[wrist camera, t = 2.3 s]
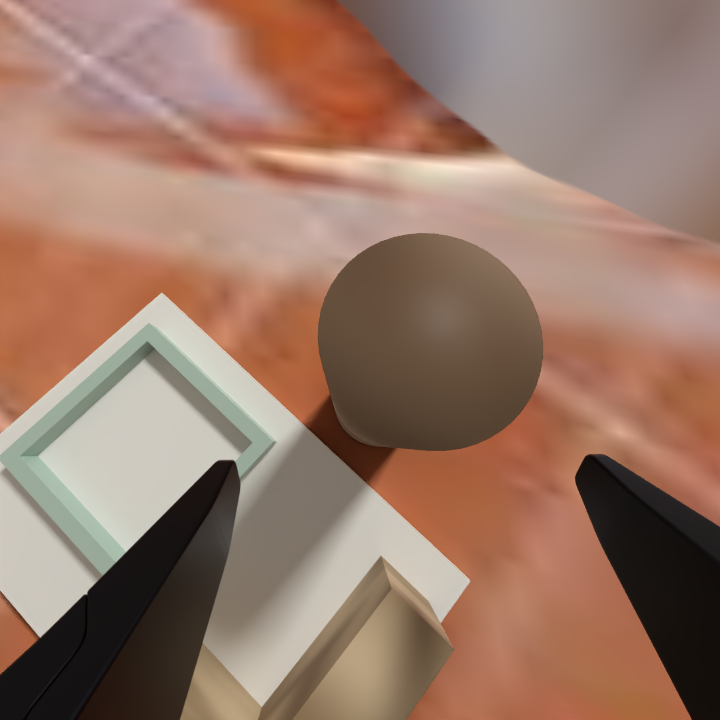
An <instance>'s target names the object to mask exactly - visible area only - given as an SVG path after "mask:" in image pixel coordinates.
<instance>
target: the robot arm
mask: <svg viewBox="0 0 720 720" xmlns="http://www.w3.org/2000/svg"><path fill="white" fill-rule="evenodd" d="M575 482H576V486H577V488H578V491H579V493H580V495H581V498H582V500H583V503H584V505H585V508H586V510H587V513H588V515H589V518H590V520H591V523H592V525H593V527H594V530H595V532H596V535H597V537H598V539H599V541H600V544H601V546H602V548H603V550H604V552H605V554H606V556H607V557H608V559H609V561H610V563H611V565H612V567H613V569H614V571H615V573H616V575H617V577H618V579H619V581H620V582H621V584H622V586H623V588H624V590H625V592H626V594H627V596H628V598H629V600H630V602H631V604H632V606H633V607H634V609H635V611H636V613H637V615H638V617H639V619H640V621H641V623H642V625H643V627H644V629H645V630H646V632H647V634H648V636H649V638H650V640H651V642H652V644H653V646H654V648H655V650H656V652H657V654H658V655H659V657H660V659H661V661H662V663H663V665H664V667H665V669H666V671H667V673H668V675H669V677H670V679H671V680H672V682H673V684H674V686H675V688H676V690H677V692H678V694H679V696H680V698H681V700H682V702H683V704H684V705H685V707H686V709H687V711H688V713H689V715H690V717H691V719H692V720H720V527H719V526H718V525H716V524H715V523H713V522H711V521H710V520H708V519H707V518H705V517H703V516H702V515H700V514H699V513H697V512H695V511H694V510H692V509H691V508H689V507H688V506H686V505H684V504H683V503H681V502H680V501H678V500H676V499H675V498H673V497H672V496H670V495H668V494H667V493H665V492H664V491H662V490H661V489H659V488H657V487H656V486H654V485H653V484H651V483H649V482H648V481H646V480H645V479H643V478H641V477H640V476H638V475H637V474H635V473H634V472H632V471H630V470H629V469H627V468H626V467H624V466H622V465H621V464H619V463H618V462H616V461H614V460H613V459H611V458H610V457H608V456H606V455H603V454H589V455H587V456H585V458H584V460H583V461H582V463H581V465H580V467H579V469H578V471H577V473H576V476H575ZM240 488H241V483H240V478H239V474H238V469H237V465H236V462H235V461H234V460H218V461H216V462H215V463H214V464H213V465H212V466H211V467H210V468H209V469H208V470H207V471H206V472H205V473H204V474H203V475H202V476H201V477H200V478H199V479H198V480H197V481H196V482H195V483H194V484H193V485H192V486H191V487H190V488H189V489H188V490H187V491H186V492H185V493H184V494H183V495H182V496H181V497H180V498H179V499H178V500H177V501H176V502H175V503H174V504H173V505H172V506H171V507H170V508H169V509H168V510H167V511H166V512H165V513H164V514H163V515H162V516H161V517H160V518H159V519H158V520H157V521H156V522H155V523H154V524H153V525H152V526H151V527H150V528H149V529H148V530H147V531H146V532H145V533H144V534H143V535H142V536H141V537H140V538H139V539H138V540H137V542H136V543H135V544H134V545H133V546H132V547H131V548H130V549H129V550H128V551H127V552H126V553H125V554H124V555H123V556H122V557H121V558H120V559H119V560H118V561H117V562H116V563H115V564H114V565H113V566H112V567H111V568H110V569H109V570H108V571H107V572H106V573H105V574H104V575H103V576H102V577H101V578H100V579H99V580H98V581H97V582H96V583H95V584H94V585H93V586H92V587H91V588H90V589H89V590H88V592H87V594H84V595H83V596H82V597H81V598H80V599H79V600H78V601H77V602H76V603H75V604H74V605H73V606H72V607H71V608H70V609H69V610H68V611H67V612H66V613H65V614H64V615H63V616H62V617H61V618H60V619H59V620H58V621H57V622H56V623H55V624H54V625H53V626H52V627H51V628H50V629H48V630H47V631H46V632H45V633H44V634H43V635H42V636H41V637H40V638H39V639H38V640H37V641H36V642H35V643H34V644H33V645H32V646H31V647H30V648H29V649H28V650H26V651H25V652H24V653H23V654H22V655H21V656H20V657H19V658H18V659H17V660H16V661H14V662H13V663H12V664H11V665H10V666H9V667H8V668H7V669H6V670H5V671H4V672H2V673H1V674H0V720H180V718H181V715H182V712H183V708H184V705H185V701H186V698H187V695H188V691H189V688H190V684H191V681H192V678H193V674H194V671H195V667H196V664H197V660H198V657H199V654H200V650H201V647H202V643H203V640H204V637H205V633H206V630H207V626H208V623H209V620H210V616H211V613H212V609H213V606H214V603H215V599H216V596H217V592H218V589H219V585H220V582H221V579H222V575H223V572H224V568H225V565H226V561H227V558H228V554H229V550H230V544H231V539H232V534H233V528H234V523H235V517H236V511H237V506H238V500H239V495H240Z"/></svg>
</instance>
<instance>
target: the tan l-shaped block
mask: <svg viewBox="0 0 720 720" xmlns="http://www.w3.org/2000/svg"><path fill="white" fill-rule="evenodd" d="M453 651H454V648H453V646H452V644H451V642H450V640H449V639H448V637H447V635H446V633H445V631H444V629H443V627H442V625H441V623H440V622H439V620H438V618H437V616H436V614H435V612H434V610H433V608H432V607H431V605H430V603H429V601H428V600H427V599H426V598H425V597H424V596H423V595H422V594H421V593H420V592H419V591H418V590H416V589H415V588H414V587H413V586H412V585H411V584H410V583H409V582H408V581H407V580H406V579H405V578H404V577H403V576H402V575H401V574H400V573H399V572H398V571H397V570H396V569H395V568H394V567H393V566H391V565H390V564H389V563H388V562H387V561H386V560H385V559H384V558H383V557H382V556H380V557H379V558H378V560H377V561H376V562H375V563H374V565H373V566H372V567H371V569H370V570H369V571H368V572H367V574H366V575H365V576H364V578H363V579H362V580H361V581H360V583H359V584H358V585H357V586H356V588H355V589H354V590H353V592H352V593H351V594H350V595H349V597H348V598H347V599H346V600H345V602H344V603H343V604H342V606H341V607H340V608H339V609H338V611H337V612H336V613H335V614H334V616H333V617H332V618H331V620H330V621H329V622H328V623H327V625H326V626H325V627H324V629H323V630H322V631H321V632H320V634H319V635H318V636H317V637H316V639H315V640H314V641H313V643H312V644H311V645H310V646H309V648H308V649H307V650H306V651H305V653H304V654H303V655H302V657H301V658H300V659H299V660H298V662H297V663H296V664H295V666H294V667H293V668H292V669H291V671H290V672H289V673H288V674H287V676H286V677H285V678H284V680H283V681H282V682H281V683H280V685H279V686H278V687H277V688H276V690H275V691H274V692H273V694H272V695H271V696H270V697H269V699H268V700H267V701H266V702H265V704H264V705H263V706H262V707H261V706H260V705H259V704H258V703H257V701H256V700H255V699H254V698H253V697H252V696H251V695H250V694H249V693H248V692H247V691H246V689H245V688H244V687H243V686H242V685H241V684H240V683H239V682H238V681H237V680H236V679H235V677H234V676H233V675H232V674H231V673H230V672H229V671H228V670H227V669H226V668H225V667H224V665H223V664H222V663H221V662H220V661H219V660H218V659H217V658H216V657H215V656H214V655H213V653H212V652H211V651H210V650H209V649H208V648H207V647H206V646H205V645H204V644H203V643H202V647H201V650H200V654H199V657H198V660H197V664H196V667H195V671H194V674H193V678H192V681H191V684H190V688H189V691H188V695H187V698H186V701H185V705H184V708H183V712H182V715H181V718H180V720H406V719H407V718H408V716H409V715H410V713H411V712H412V710H413V709H414V708H415V706H416V705H417V703H418V702H419V700H420V699H421V697H422V696H423V694H424V693H425V692H426V690H427V689H428V687H429V686H430V684H431V683H432V681H433V680H434V679H435V677H436V676H437V674H438V673H439V671H440V670H441V668H442V667H443V665H444V664H445V663H446V661H447V660H448V658H449V657H450V655H451V654H452V652H453Z"/></svg>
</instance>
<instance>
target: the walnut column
mask: <svg viewBox="0 0 720 720" xmlns="http://www.w3.org/2000/svg"><path fill="white" fill-rule="evenodd" d="M318 345H319V354H320V358H321V362H322V366H323V370H324V374H325V377H326V381H327V384H328V388H329V391H330V395H331V398H332V402H333V405H334V409H335V412H336V416H337V419H338V421H339V423H340V425H341V427H342V428H343V429H344V431H345V432H346V433H347V434H348V435H349V436H350V437H352V438H353V439H355V440H356V441H358V442H360V443H363V444H366V445H371V446H380V447H392V448H404V449H415V450H427V451H447V450H454V449H461V448H464V447H468V446H472V445H475V444H477V443H480V442H482V441H484V440H487V439H489V438H490V437H492V436H494V435H495V434H497V433H499V432H500V431H502V430H503V429H504V428H505V427H506V426H508V425H509V424H510V423H511V422H512V421H513V420H514V419H515V418H516V417H517V416H518V415H519V414H520V413H521V411H522V410H523V409H524V407H525V406H526V404H527V403H528V401H529V400H530V398H531V396H532V394H533V392H534V389H535V387H536V385H537V382H538V379H539V375H540V372H541V366H542V359H543V339H542V330H541V326H540V322H539V318H538V315H537V312H536V309H535V307H534V304H533V302H532V300H531V298H530V297H529V295H528V293H527V291H526V289H525V288H524V287H523V285H522V284H521V282H520V281H519V280H518V278H517V277H516V276H515V275H514V274H513V273H512V272H511V270H510V269H509V268H508V267H506V266H505V265H504V264H503V263H502V262H501V261H500V260H498V259H497V258H496V257H494V256H493V255H491V254H490V253H489V252H487V251H485V250H484V249H482V248H480V247H478V246H476V245H474V244H472V243H469V242H467V241H464V240H462V239H458V238H454V237H451V236H446V235H439V234H427V233H418V234H407V235H402V236H397V237H393V238H390V239H387V240H384V241H381V242H379V243H377V244H375V245H373V246H371V247H369V248H367V249H366V250H364V251H363V252H361V253H360V254H358V255H357V256H356V257H355V258H354V259H352V260H351V261H350V262H349V263H348V264H347V265H346V266H345V267H344V268H343V269H342V271H341V272H340V273H339V274H338V276H337V277H336V279H335V280H334V281H333V283H332V284H331V286H330V288H329V290H328V293H327V295H326V297H325V299H324V302H323V306H322V309H321V313H320V318H319V324H318Z"/></svg>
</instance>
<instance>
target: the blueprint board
mask: <svg viewBox="0 0 720 720" xmlns="http://www.w3.org/2000/svg"><path fill="white" fill-rule="evenodd" d="M218 460H234V461H235V462H236V465H237V469H238V474H239V478H240V483H241V488H240V495H239V500H238V506H237V511H236V517H235V523H234V528H233V534H232V539H231V544H230V550H229V554H228V558H227V561H226V565H225V568H224V572H223V575H222V579H221V582H220V585H219V589H218V592H217V596H216V599H215V603H214V606H213V609H212V613H211V616H210V620H209V623H208V626H207V630H206V633H205V637H204V640H203V644H204V645H205V646H206V647H207V648H208V649H209V650H210V651H211V652H212V653H213V655H214V656H215V657H216V658H217V659H218V660H219V661H220V662H221V663H222V664H223V665H224V667H225V668H226V669H227V670H228V671H229V672H230V673H231V674H232V675H233V676H234V677H235V679H236V680H237V681H238V682H239V683H240V684H241V685H242V686H243V687H244V688H245V689H246V691H247V692H248V693H249V694H250V695H251V696H252V697H253V698H254V699H255V700H256V701H257V703H258V704H259V705H260V706H261V707H262V706H263V705H264V704H265V702H266V701H267V700H268V699H269V697H270V696H271V695H272V694H273V692H274V691H275V690H276V688H277V687H278V686H279V685H280V683H281V682H282V681H283V680H284V678H285V677H286V676H287V674H288V673H289V672H290V671H291V669H292V668H293V667H294V666H295V664H296V663H297V662H298V660H299V659H300V658H301V657H302V655H303V654H304V653H305V651H306V650H307V649H308V648H309V646H310V645H311V644H312V643H313V641H314V640H315V639H316V637H317V636H318V635H319V634H320V632H321V631H322V630H323V629H324V627H325V626H326V625H327V623H328V622H329V621H330V620H331V618H332V617H333V616H334V614H335V613H336V612H337V611H338V609H339V608H340V607H341V606H342V604H343V603H344V602H345V600H346V599H347V598H348V597H349V595H350V594H351V593H352V592H353V590H354V589H355V588H356V586H357V585H358V584H359V583H360V581H361V580H362V579H363V578H364V576H365V575H366V574H367V572H368V571H369V570H370V569H371V567H372V566H373V565H374V563H375V562H376V561H377V560H378V558H379V557H380V556H382V557H383V558H384V559H385V560H386V561H387V562H388V563H389V564H390V565H391V566H393V567H394V568H395V569H396V570H397V571H398V572H399V573H400V574H401V575H402V576H403V577H404V578H405V579H406V580H407V581H408V582H409V583H410V584H411V585H412V586H413V587H414V588H415V589H416V590H418V591H419V592H420V593H421V594H422V595H423V596H424V597H425V598H426V599H427V600H428V601H429V603H430V605H431V607H432V608H433V610H434V612H435V614H436V616H437V618H438V620H439V622H440V623H441V622H442V620H443V619H444V618H445V616H446V615H447V613H448V612H449V611H450V609H451V608H452V606H453V605H454V603H455V602H456V601H457V599H458V598H459V596H460V595H461V594H462V592H463V591H464V589H465V588H466V587H467V585H468V584H469V582H470V580H469V579H468V577H467V576H466V575H464V574H463V573H462V572H461V571H460V570H459V569H458V568H457V567H456V566H455V565H454V564H453V563H452V562H451V561H449V560H448V559H447V558H446V557H445V556H444V555H443V554H442V553H441V552H440V551H439V550H438V549H437V548H436V547H434V546H433V545H432V544H431V543H430V542H429V541H428V540H427V539H426V538H425V537H424V536H423V535H422V534H421V533H419V532H418V531H417V530H416V529H415V528H414V527H413V526H412V525H411V524H410V523H409V522H408V521H407V520H406V519H404V518H403V517H402V516H401V515H400V514H399V513H398V512H397V511H396V510H395V509H394V508H393V507H392V506H390V505H389V504H388V503H387V502H386V501H385V500H384V499H383V498H382V497H381V496H380V495H379V494H378V493H377V492H375V491H374V490H373V489H372V488H371V487H370V486H369V485H368V484H367V483H366V482H365V481H364V480H363V479H362V478H360V477H359V476H358V475H357V474H356V473H355V472H354V471H353V470H352V469H351V468H350V467H349V466H348V465H347V464H345V463H344V462H343V461H342V460H341V459H340V458H339V457H338V456H337V455H336V454H335V453H334V452H333V451H331V450H330V449H329V448H328V447H327V446H326V445H325V444H324V443H323V442H322V441H321V440H320V439H319V438H318V437H316V436H315V435H314V434H313V433H312V432H311V431H310V430H309V429H308V428H307V427H306V426H305V425H304V424H303V423H301V422H300V421H299V420H298V419H297V418H296V417H295V416H294V415H293V414H292V413H291V412H290V411H289V410H288V409H286V408H285V407H284V406H283V405H282V404H281V403H280V402H279V401H278V400H277V399H276V398H275V397H274V396H273V395H271V394H270V393H269V392H268V391H267V390H266V389H265V388H264V387H263V386H262V385H261V384H260V383H259V382H257V381H256V380H255V379H254V378H253V377H252V376H251V375H250V374H249V373H248V372H247V371H246V370H245V369H244V368H242V367H241V366H240V365H239V364H238V363H237V362H236V361H235V360H234V359H233V358H232V357H231V356H230V355H229V354H227V353H226V352H225V351H224V350H223V349H222V348H221V347H220V346H219V345H218V344H217V343H216V342H215V341H214V340H212V339H211V338H210V337H209V336H208V335H207V334H206V333H205V332H204V331H203V330H202V329H201V328H200V327H199V326H197V325H196V324H195V323H194V322H193V321H192V320H191V319H190V318H189V317H188V316H187V315H186V314H185V313H183V312H182V311H181V310H180V309H179V308H178V307H177V306H176V305H175V304H174V303H173V302H172V301H171V300H170V299H168V298H167V297H166V296H165V295H164V294H163V293H161V294H160V295H158V296H157V297H156V298H155V299H154V300H153V301H152V302H150V303H149V304H148V305H147V306H146V307H145V308H144V309H142V310H141V311H140V312H139V313H138V314H137V315H136V316H134V317H133V318H132V319H131V320H130V321H129V322H128V323H126V324H125V325H124V326H123V327H122V328H121V329H120V330H118V331H117V332H116V333H115V334H114V335H113V336H112V337H110V338H109V339H108V340H107V341H106V342H105V343H104V344H102V345H101V346H100V347H99V348H98V349H97V350H96V351H94V352H93V353H92V354H91V355H90V356H89V357H88V358H86V359H85V360H84V361H83V362H82V363H81V364H80V365H78V366H77V367H76V368H75V369H74V370H73V371H72V372H70V373H69V374H68V375H67V376H66V377H65V378H64V379H62V380H61V381H60V382H59V383H58V384H57V385H56V386H54V387H53V388H52V389H51V390H50V391H49V392H48V393H46V394H45V395H44V396H43V397H42V398H41V399H40V400H38V401H37V402H36V403H35V404H34V405H33V406H32V407H30V408H29V409H28V410H27V411H26V412H25V413H24V414H22V415H21V416H20V417H19V418H18V419H17V420H16V421H15V422H13V423H12V424H11V425H10V426H9V427H8V428H7V429H5V430H4V431H3V432H2V433H1V434H0V591H1V592H2V593H3V594H4V595H5V597H6V598H7V599H8V600H9V601H10V603H11V604H12V605H13V606H14V607H15V608H16V610H17V611H18V612H19V613H20V614H21V616H22V617H23V618H24V619H25V620H26V622H27V623H28V624H29V625H30V626H31V627H32V629H33V630H34V631H35V632H36V633H37V635H38V636H39V637H41V636H42V635H43V634H44V633H45V632H46V631H47V630H48V629H50V628H51V627H52V626H53V625H54V624H55V623H56V622H57V621H58V620H59V619H60V618H61V617H62V616H63V615H64V614H65V613H66V612H67V611H68V610H69V609H70V608H71V607H72V606H73V605H74V604H75V603H76V602H77V601H78V600H79V599H80V598H81V597H82V596H83V595H84V594H87V592H88V590H89V589H90V588H91V587H92V586H93V585H94V584H95V583H96V582H97V581H98V580H99V579H100V578H101V577H102V576H103V575H104V574H105V573H106V572H107V571H108V570H109V569H110V568H111V567H112V566H113V565H114V564H115V563H116V562H117V561H118V560H119V559H120V558H121V557H122V556H123V555H124V554H125V553H126V552H127V551H128V550H129V549H130V548H131V547H132V546H133V545H134V544H135V543H136V542H137V540H138V539H139V538H140V537H141V536H142V535H143V534H144V533H145V532H146V531H147V530H148V529H149V528H150V527H151V526H152V525H153V524H154V523H155V522H156V521H157V520H158V519H159V518H160V517H161V516H162V515H163V514H164V513H165V512H166V511H167V510H168V509H169V508H170V507H171V506H172V505H173V504H174V503H175V502H176V501H177V500H178V499H179V498H180V497H181V496H182V495H183V494H184V493H185V492H186V491H187V490H188V489H189V488H190V487H191V486H192V485H193V484H194V483H195V482H196V481H197V480H198V479H199V478H200V477H201V476H202V475H203V474H204V473H205V472H206V471H207V470H208V469H209V468H210V467H211V466H212V465H213V464H214V463H215V462H216V461H218Z"/></svg>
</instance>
